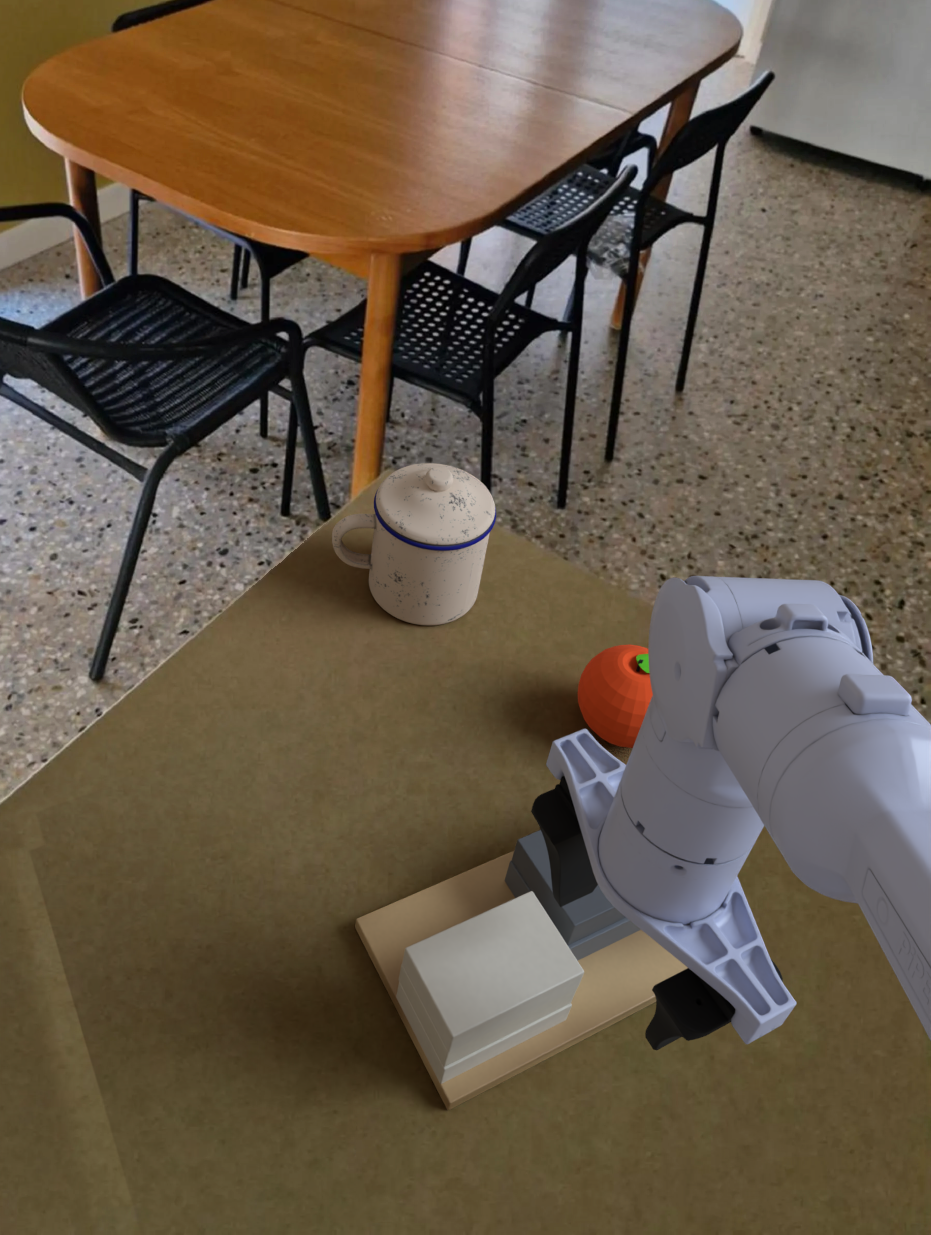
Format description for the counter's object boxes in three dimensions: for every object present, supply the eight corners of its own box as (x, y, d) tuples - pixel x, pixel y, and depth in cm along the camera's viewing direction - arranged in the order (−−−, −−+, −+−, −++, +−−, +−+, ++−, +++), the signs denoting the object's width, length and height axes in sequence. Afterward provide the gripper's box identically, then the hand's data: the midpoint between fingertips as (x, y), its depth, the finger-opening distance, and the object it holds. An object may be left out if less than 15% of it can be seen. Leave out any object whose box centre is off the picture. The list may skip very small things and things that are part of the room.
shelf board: (720, 968, 65) (725, 959, 64) (447, 1111, 58) (449, 1103, 57) (608, 816, 72) (611, 807, 72) (354, 927, 65) (355, 918, 65)
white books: (566, 1020, 61) (579, 988, 59) (440, 1084, 58) (448, 1054, 56) (516, 938, 64) (526, 905, 62) (394, 995, 61) (401, 963, 59)
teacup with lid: (472, 548, 91) (492, 436, 84) (488, 631, 84) (512, 517, 77) (326, 545, 90) (334, 432, 83) (330, 629, 83) (339, 513, 76)
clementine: (652, 678, 82) (676, 612, 77) (699, 755, 77) (728, 688, 72) (552, 697, 80) (572, 630, 75) (594, 778, 75) (618, 710, 70)
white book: (578, 988, 59) (585, 971, 58) (448, 1053, 56) (452, 1037, 55) (526, 906, 62) (532, 889, 61) (401, 964, 59) (404, 947, 58)
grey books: (683, 908, 67) (703, 869, 64) (560, 969, 63) (575, 930, 60) (623, 827, 71) (639, 786, 68) (503, 880, 67) (515, 839, 64)
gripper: (893, 917, 43) (782, 1067, 51) (657, 649, 52) (596, 813, 61) (753, 994, 40) (661, 1138, 48) (531, 695, 50) (487, 860, 58)
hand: (617, 961), depth 55 cm, fingers open, 7 cm apart
